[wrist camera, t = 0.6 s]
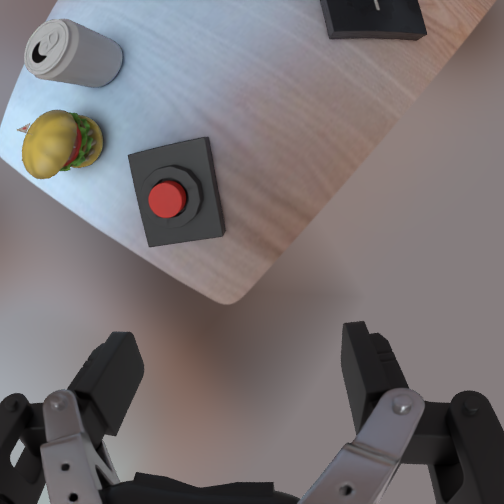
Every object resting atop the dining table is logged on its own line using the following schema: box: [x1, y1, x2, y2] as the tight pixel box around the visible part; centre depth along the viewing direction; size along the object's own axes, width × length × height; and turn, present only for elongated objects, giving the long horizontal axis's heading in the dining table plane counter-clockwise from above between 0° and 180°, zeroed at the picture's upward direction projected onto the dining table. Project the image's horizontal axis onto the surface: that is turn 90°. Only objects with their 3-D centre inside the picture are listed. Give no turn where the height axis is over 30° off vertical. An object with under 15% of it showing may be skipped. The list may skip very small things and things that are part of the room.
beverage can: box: [24, 19, 122, 88], centre depth 26 cm, size 6×6×12 cm
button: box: [149, 181, 186, 218], centre depth 32 cm, size 4×4×2 cm
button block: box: [128, 137, 226, 247], centre depth 35 cm, size 11×9×4 cm
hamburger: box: [17, 110, 103, 179], centre depth 29 cm, size 8×7×12 cm
